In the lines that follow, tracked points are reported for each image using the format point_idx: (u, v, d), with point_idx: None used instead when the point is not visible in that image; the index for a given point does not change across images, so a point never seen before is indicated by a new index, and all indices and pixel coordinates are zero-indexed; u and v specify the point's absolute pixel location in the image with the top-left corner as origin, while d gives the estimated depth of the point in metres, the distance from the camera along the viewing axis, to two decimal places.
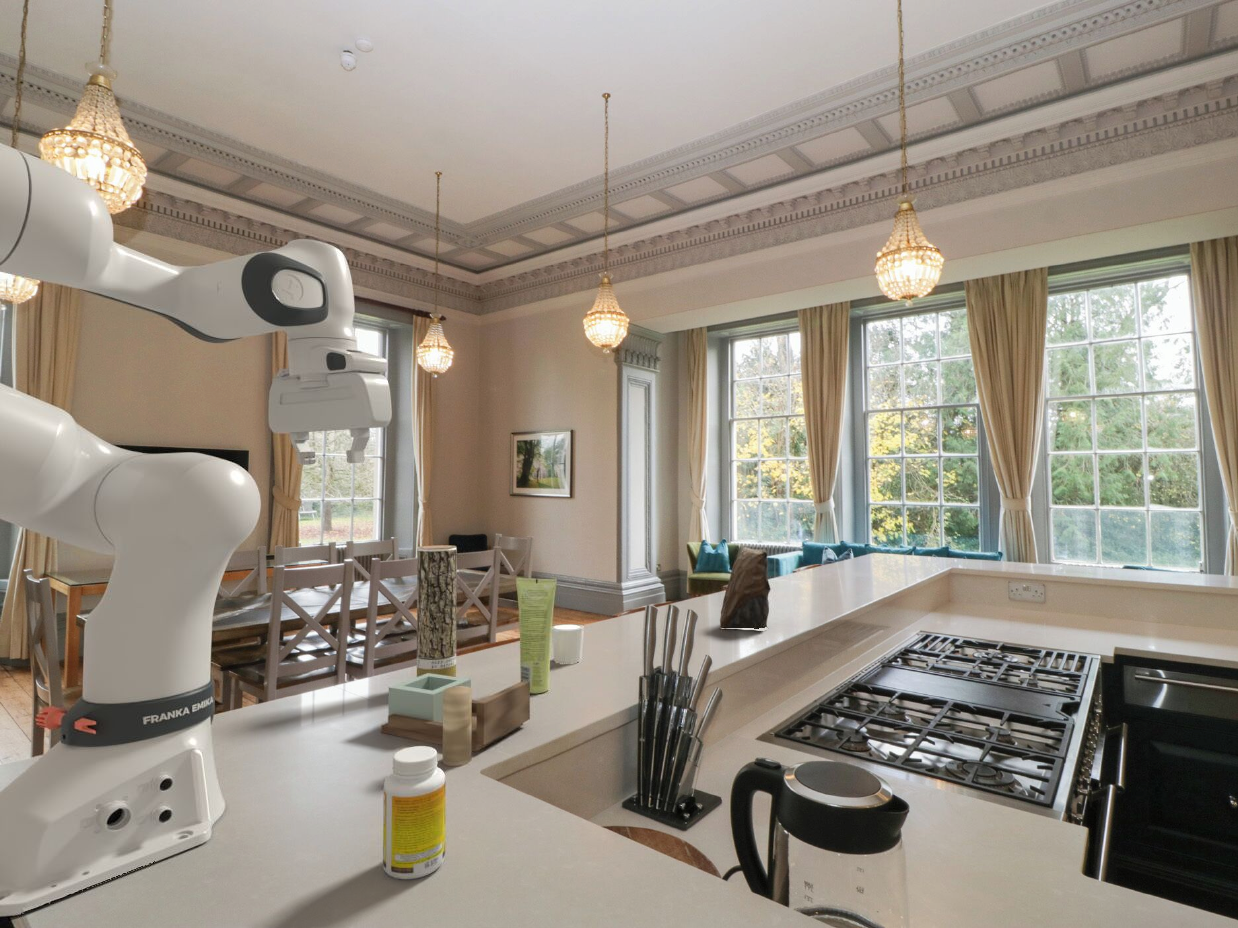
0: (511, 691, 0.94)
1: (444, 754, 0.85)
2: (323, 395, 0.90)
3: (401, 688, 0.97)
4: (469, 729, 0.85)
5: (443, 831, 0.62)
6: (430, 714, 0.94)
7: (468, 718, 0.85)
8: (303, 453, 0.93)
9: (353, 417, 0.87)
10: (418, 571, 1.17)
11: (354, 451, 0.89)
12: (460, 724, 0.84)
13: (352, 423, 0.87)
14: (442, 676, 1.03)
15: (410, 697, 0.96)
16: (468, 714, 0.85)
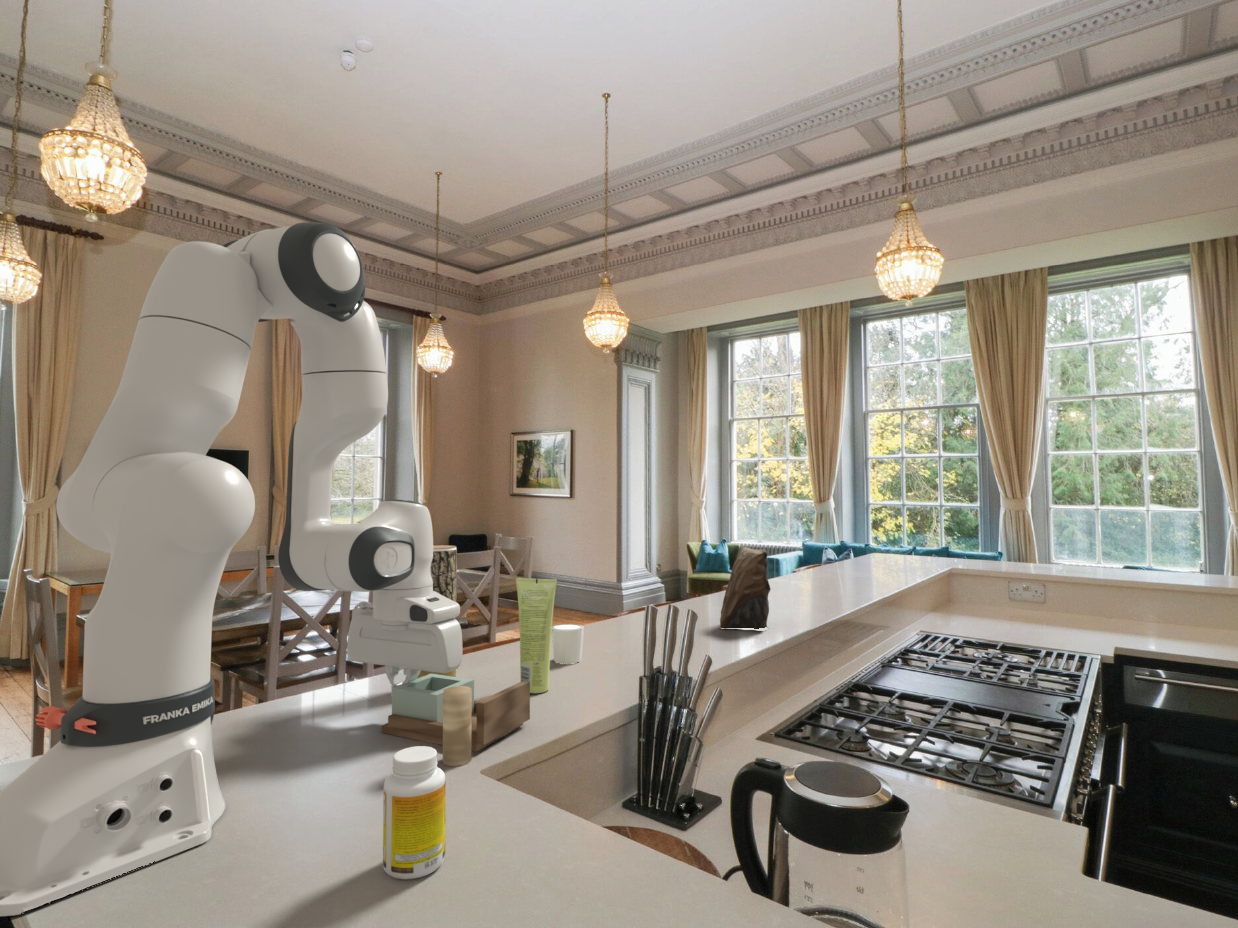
0: (511, 691, 0.94)
1: (444, 754, 0.85)
2: (402, 636, 1.00)
3: (404, 689, 0.97)
4: (469, 729, 0.85)
5: (443, 831, 0.62)
6: (434, 715, 0.94)
7: (468, 718, 0.85)
8: None
9: (429, 662, 0.97)
10: None
11: None
12: (460, 724, 0.84)
13: (428, 667, 0.98)
14: (446, 677, 1.02)
15: (413, 697, 0.95)
16: (468, 714, 0.85)
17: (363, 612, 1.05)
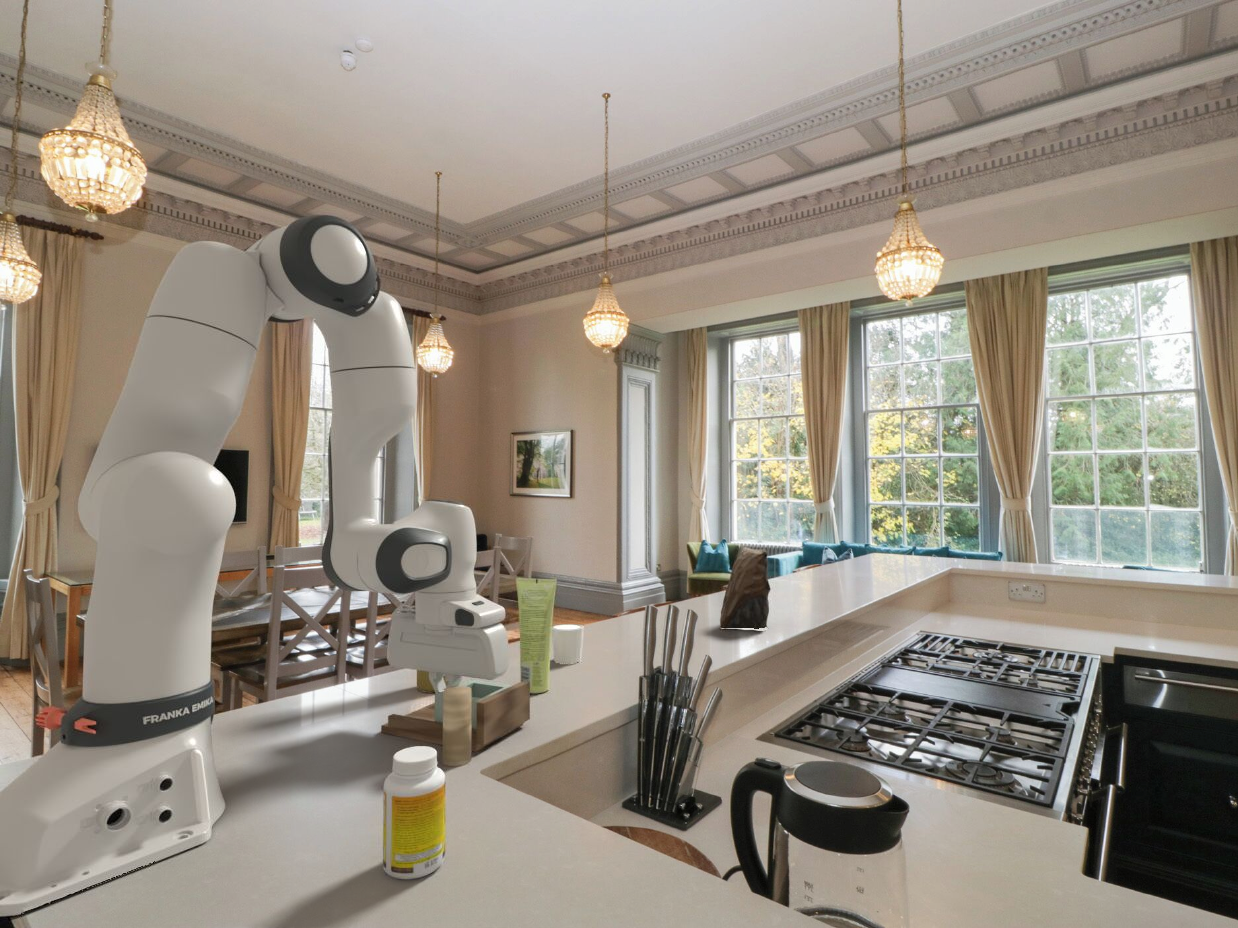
0: (511, 691, 0.94)
1: (444, 754, 0.85)
2: (445, 641, 0.97)
3: None
4: (469, 729, 0.85)
5: (443, 831, 0.62)
6: None
7: (468, 718, 0.85)
8: None
9: (474, 668, 0.94)
10: None
11: None
12: (460, 724, 0.84)
13: (473, 673, 0.94)
14: (488, 683, 0.99)
15: None
16: (468, 714, 0.85)
17: (403, 616, 1.01)
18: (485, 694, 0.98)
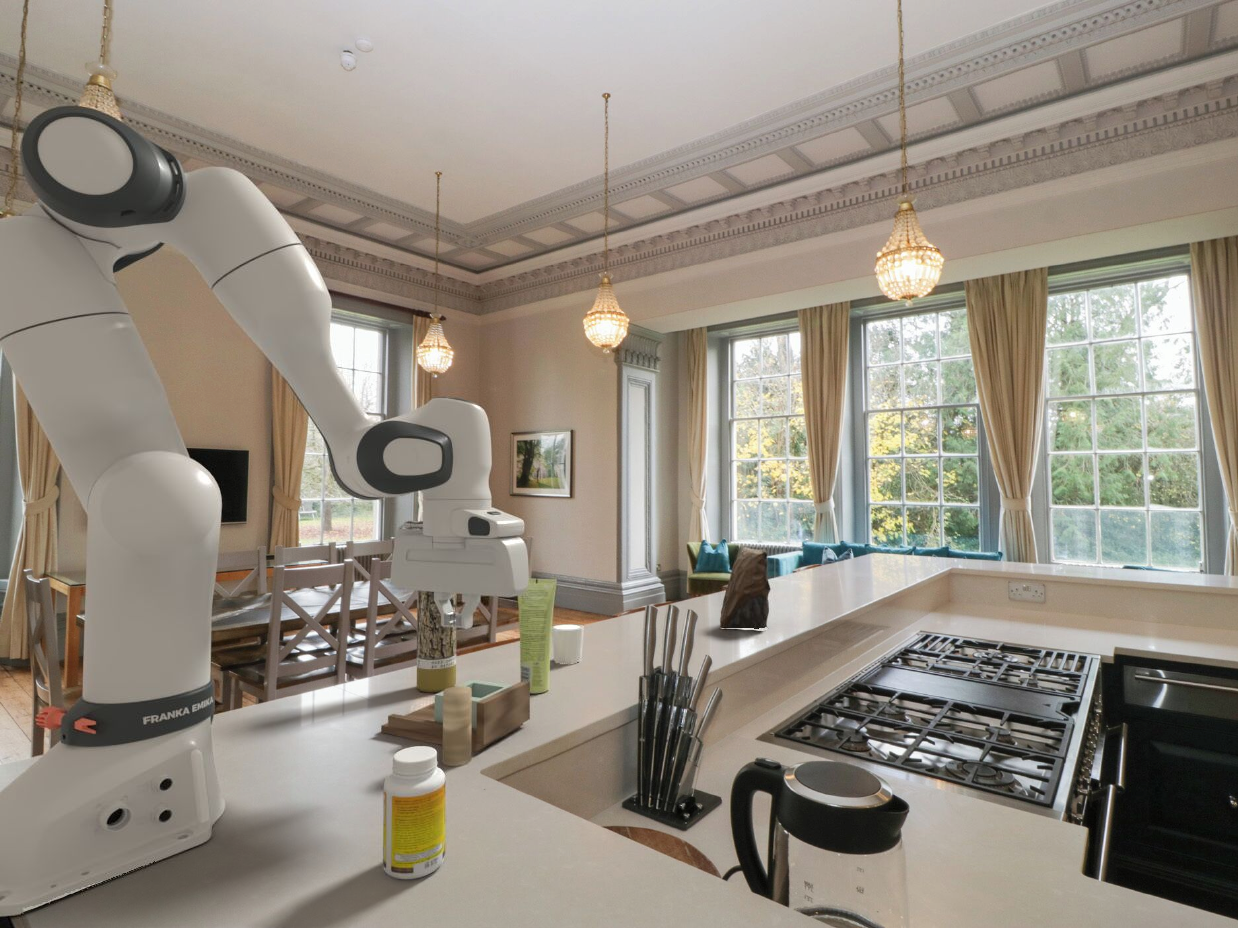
0: (511, 691, 0.94)
1: (444, 754, 0.85)
2: (457, 556, 0.85)
3: None
4: (469, 729, 0.85)
5: (443, 831, 0.62)
6: None
7: (468, 718, 0.85)
8: (448, 615, 0.86)
9: (490, 584, 0.83)
10: None
11: (464, 617, 0.85)
12: (460, 724, 0.84)
13: (489, 591, 0.83)
14: (488, 683, 0.99)
15: None
16: (468, 714, 0.85)
17: (409, 533, 0.90)
18: (485, 694, 0.98)
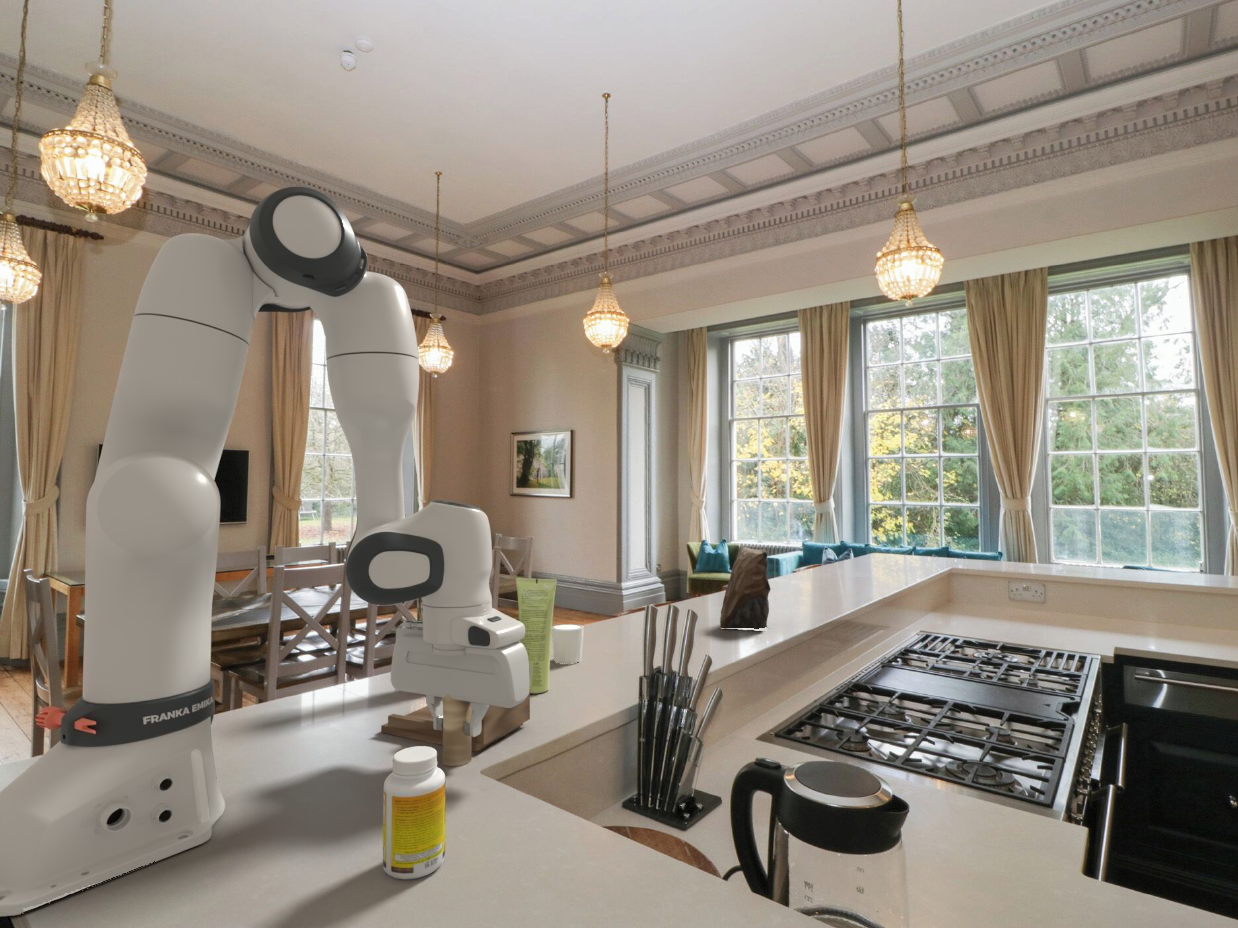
0: None
1: (444, 754, 0.85)
2: (457, 662, 0.84)
3: None
4: None
5: (443, 831, 0.62)
6: None
7: (468, 718, 0.85)
8: (440, 719, 0.86)
9: (491, 694, 0.82)
10: None
11: (473, 724, 0.84)
12: (460, 724, 0.84)
13: (489, 700, 0.82)
14: None
15: None
16: (468, 714, 0.85)
17: (409, 632, 0.89)
18: None
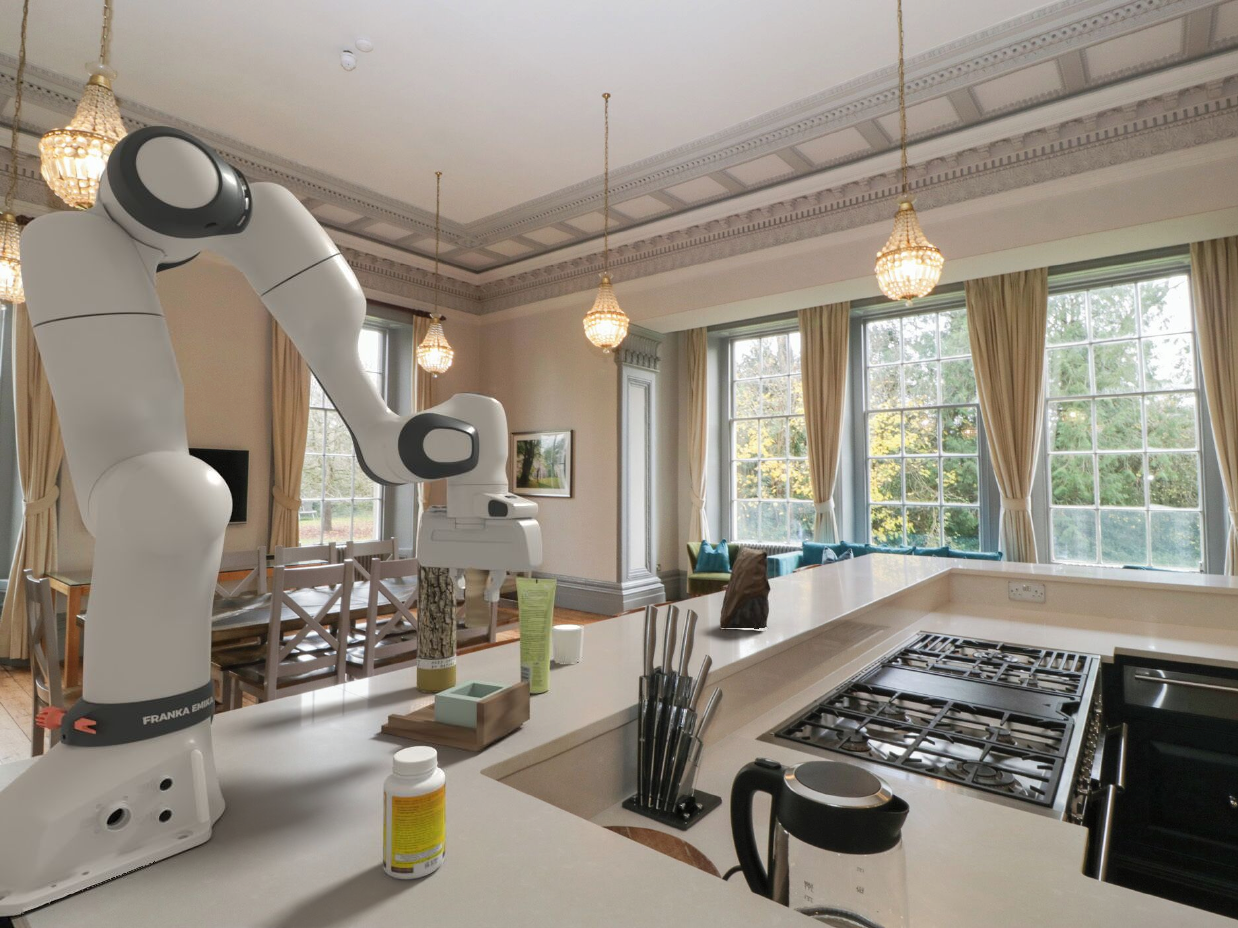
0: (511, 691, 0.94)
1: (466, 618, 0.95)
2: (478, 536, 0.95)
3: (448, 695, 0.93)
4: None
5: (443, 831, 0.62)
6: None
7: (488, 586, 0.96)
8: (462, 589, 0.96)
9: (508, 561, 0.92)
10: (418, 571, 1.17)
11: (492, 591, 0.94)
12: (481, 591, 0.95)
13: (507, 566, 0.92)
14: (488, 683, 0.99)
15: (458, 705, 0.92)
16: (488, 583, 0.96)
17: (434, 516, 1.00)
18: (485, 694, 0.98)
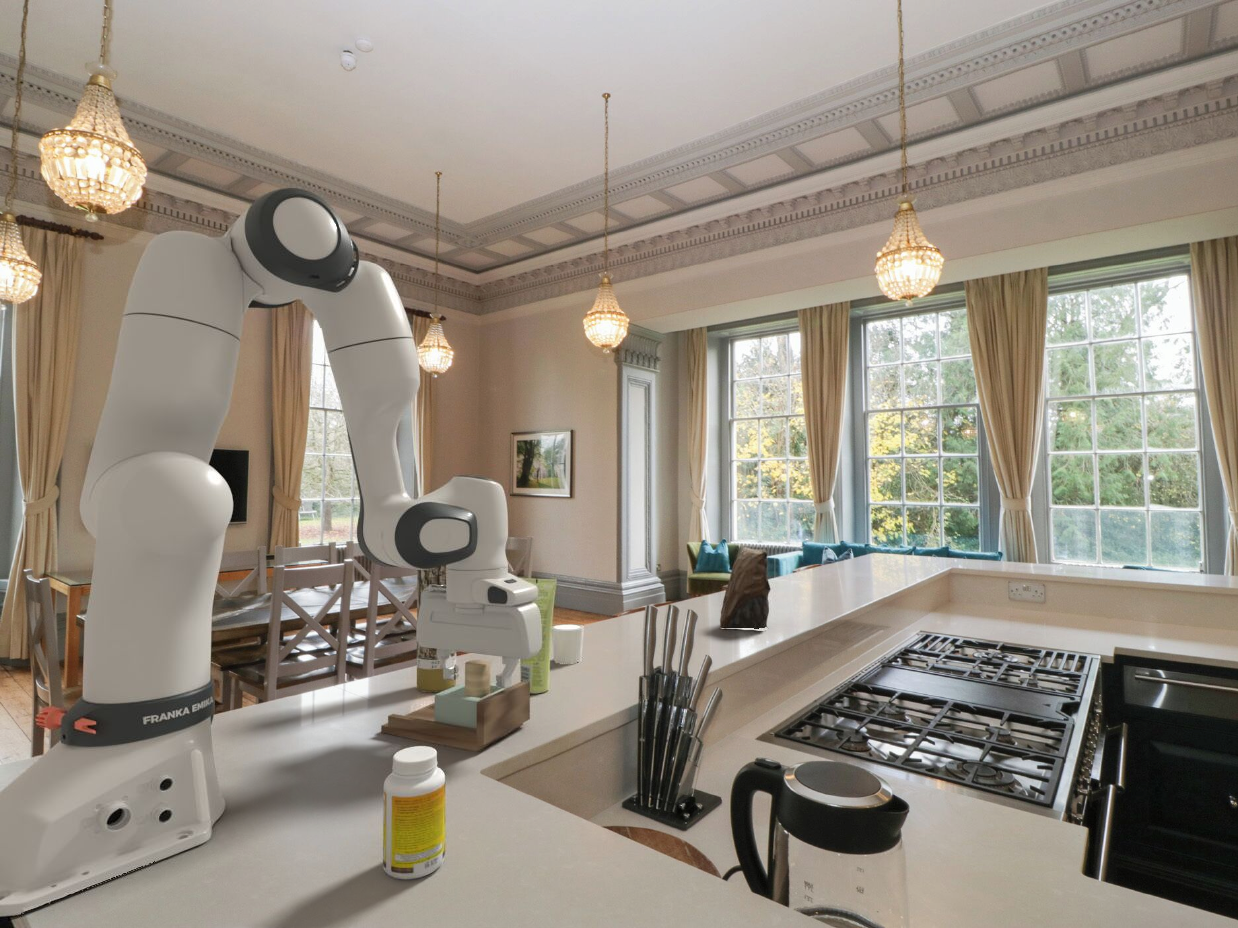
0: (511, 691, 0.94)
1: None
2: (477, 620, 0.94)
3: (448, 695, 0.93)
4: None
5: (443, 831, 0.62)
6: None
7: (487, 687, 0.95)
8: (449, 670, 0.97)
9: (508, 647, 0.92)
10: (418, 571, 1.17)
11: (504, 677, 0.93)
12: (481, 692, 0.94)
13: (506, 653, 0.92)
14: None
15: (458, 705, 0.92)
16: (487, 684, 0.95)
17: (433, 595, 0.99)
18: None
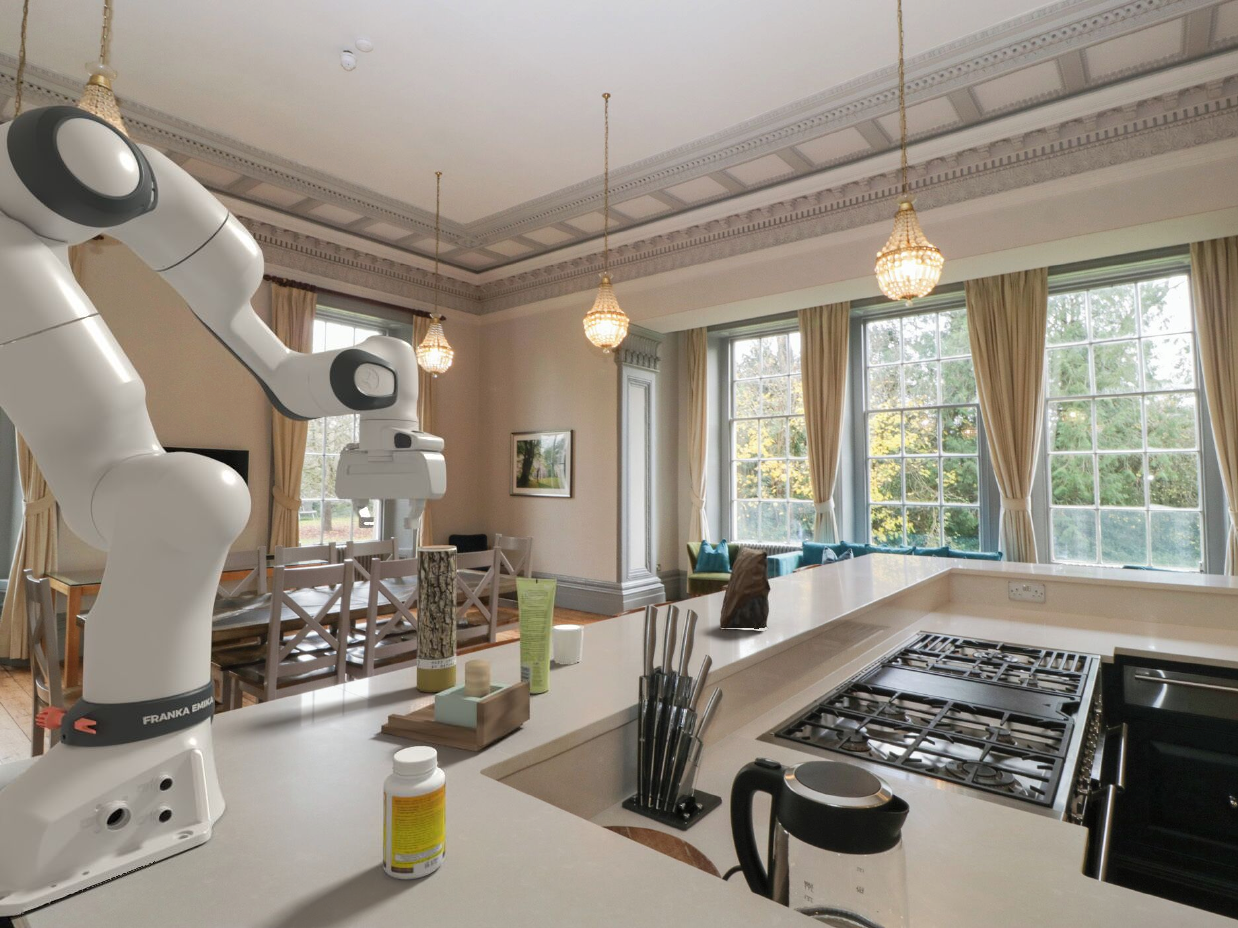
0: (511, 691, 0.94)
1: None
2: (387, 468, 1.03)
3: (448, 695, 0.93)
4: None
5: (443, 831, 0.62)
6: None
7: (487, 688, 0.95)
8: (364, 518, 1.05)
9: (413, 489, 1.00)
10: (418, 571, 1.17)
11: (411, 519, 1.01)
12: (480, 693, 0.94)
13: (412, 494, 1.00)
14: None
15: (458, 705, 0.92)
16: (487, 684, 0.95)
17: (350, 452, 1.07)
18: None
